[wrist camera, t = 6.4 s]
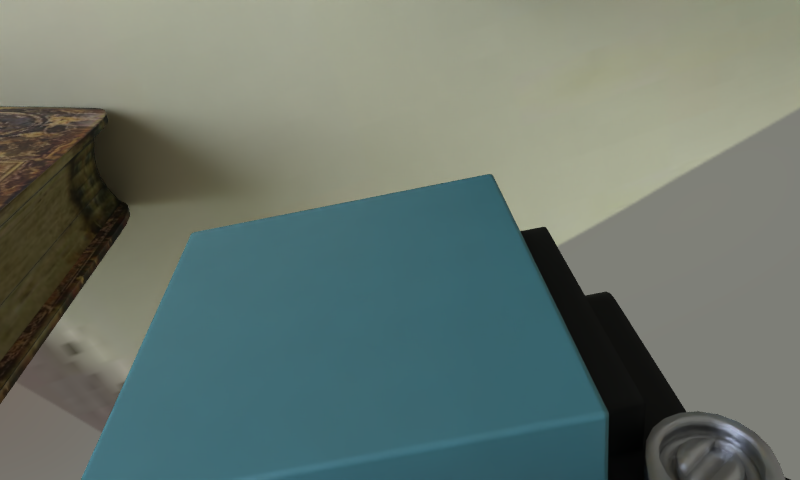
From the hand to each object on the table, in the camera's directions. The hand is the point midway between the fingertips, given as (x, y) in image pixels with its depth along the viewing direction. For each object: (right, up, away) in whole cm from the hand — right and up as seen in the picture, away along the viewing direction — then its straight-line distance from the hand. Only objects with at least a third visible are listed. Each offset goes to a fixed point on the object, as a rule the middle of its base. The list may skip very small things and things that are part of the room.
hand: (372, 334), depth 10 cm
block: (0, 0, 0) cm, 0 cm away
